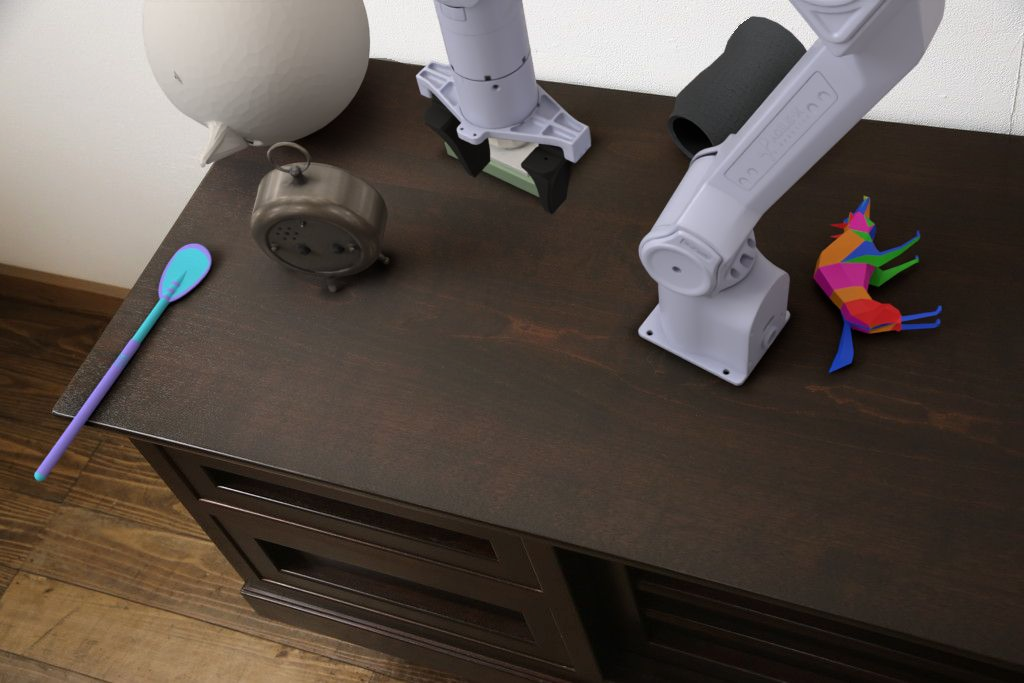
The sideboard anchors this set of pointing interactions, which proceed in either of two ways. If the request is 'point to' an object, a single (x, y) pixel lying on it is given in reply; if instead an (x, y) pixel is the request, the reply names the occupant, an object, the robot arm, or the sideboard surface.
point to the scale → (510, 165)
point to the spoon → (137, 338)
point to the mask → (257, 65)
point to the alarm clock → (318, 219)
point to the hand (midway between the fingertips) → (517, 186)
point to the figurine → (862, 281)
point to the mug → (733, 85)
